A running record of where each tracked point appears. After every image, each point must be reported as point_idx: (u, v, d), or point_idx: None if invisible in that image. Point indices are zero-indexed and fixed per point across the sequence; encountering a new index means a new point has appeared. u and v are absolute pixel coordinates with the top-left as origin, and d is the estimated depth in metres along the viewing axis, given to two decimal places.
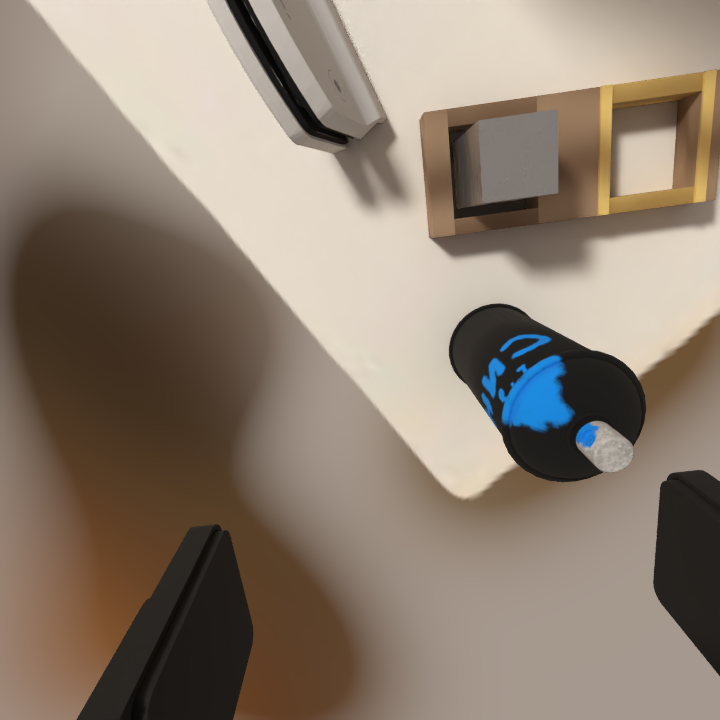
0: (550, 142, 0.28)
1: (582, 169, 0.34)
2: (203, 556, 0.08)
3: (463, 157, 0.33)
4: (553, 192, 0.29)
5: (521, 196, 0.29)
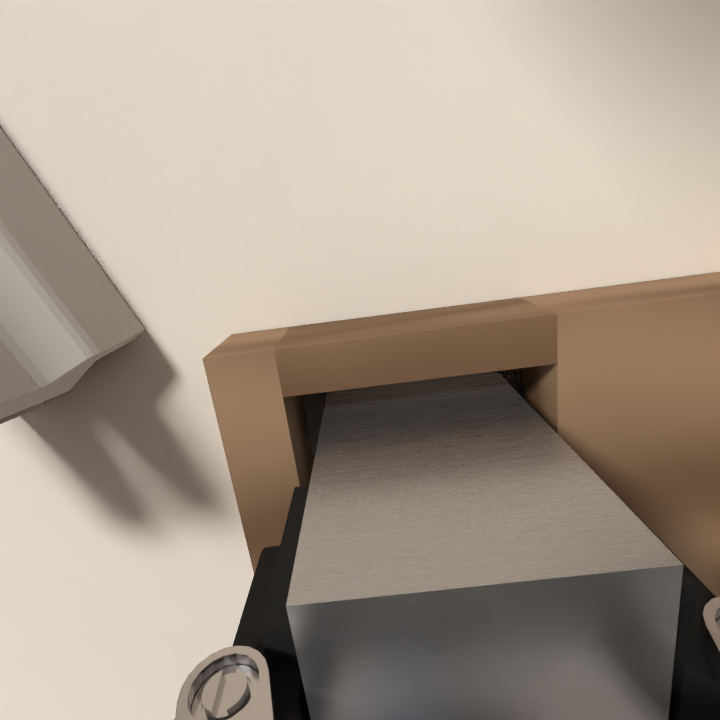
0: (636, 682, 0.06)
1: (688, 502, 0.12)
2: None
3: None
4: None
5: None
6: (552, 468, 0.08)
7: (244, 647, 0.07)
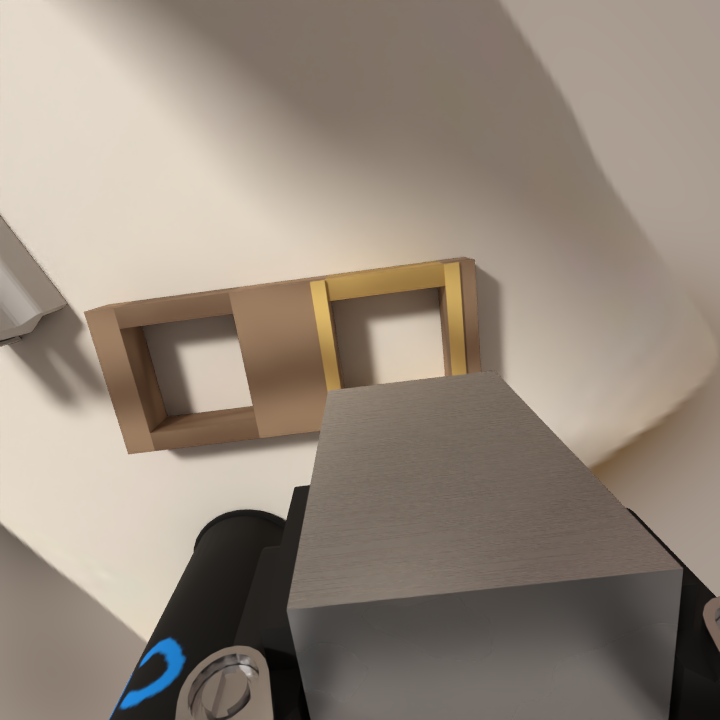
0: (635, 686, 0.06)
1: (304, 377, 0.26)
2: None
3: None
4: None
5: None
6: (552, 471, 0.08)
7: (244, 647, 0.07)
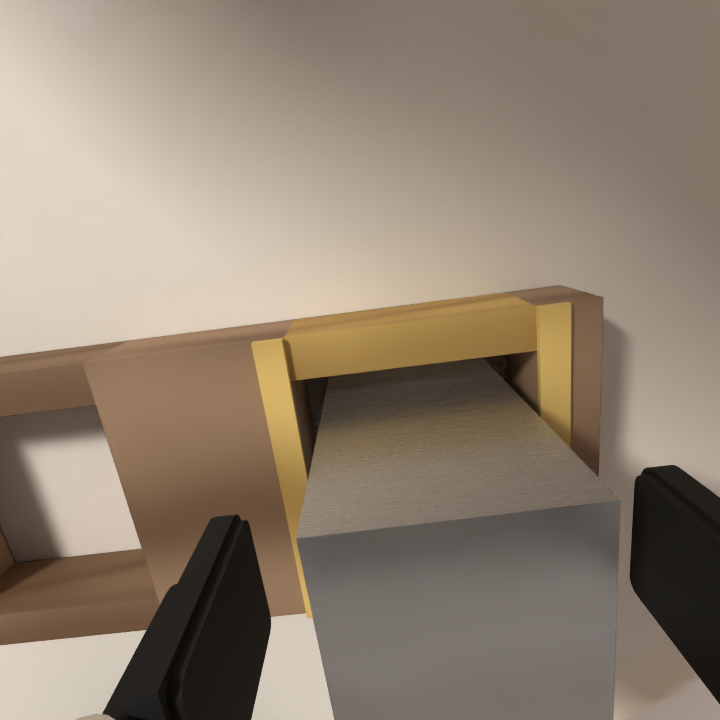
0: (586, 602, 0.07)
1: None
2: (226, 544, 0.09)
3: None
4: None
5: None
6: (523, 434, 0.09)
7: (104, 716, 0.06)
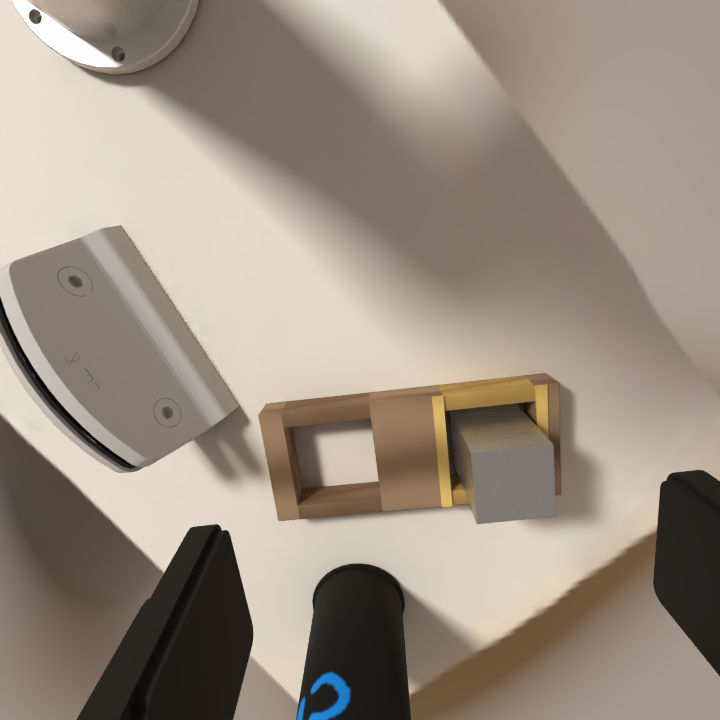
0: (546, 473, 0.27)
1: (421, 466, 0.34)
2: (203, 556, 0.08)
3: (459, 444, 0.32)
4: (550, 515, 0.28)
5: (517, 518, 0.28)
6: (529, 429, 0.29)
7: None
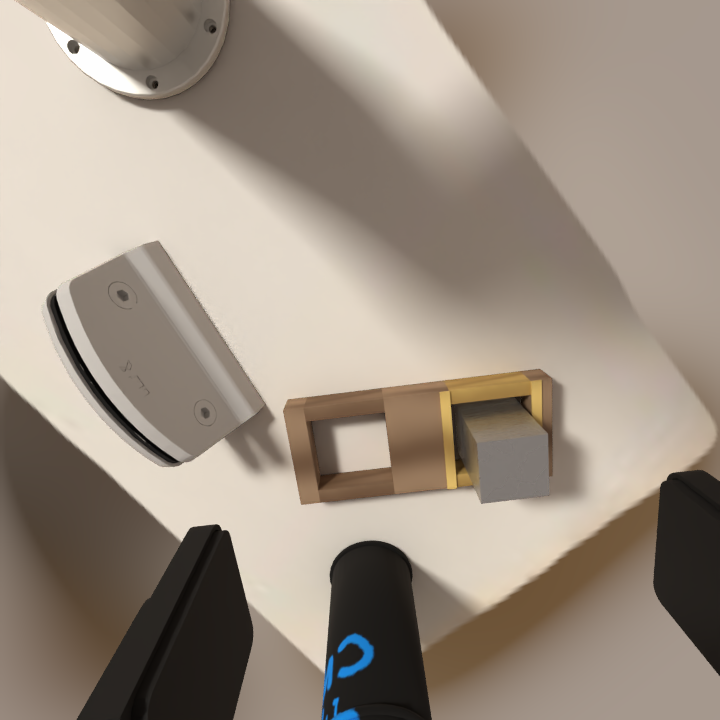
0: (541, 458, 0.32)
1: (430, 453, 0.38)
2: (203, 556, 0.08)
3: (463, 433, 0.36)
4: (544, 495, 0.33)
5: (516, 497, 0.33)
6: (526, 420, 0.33)
7: None
